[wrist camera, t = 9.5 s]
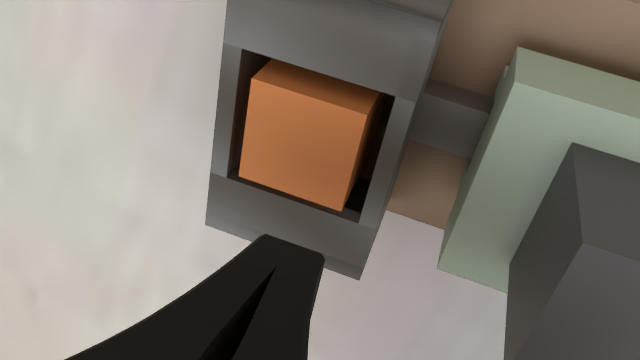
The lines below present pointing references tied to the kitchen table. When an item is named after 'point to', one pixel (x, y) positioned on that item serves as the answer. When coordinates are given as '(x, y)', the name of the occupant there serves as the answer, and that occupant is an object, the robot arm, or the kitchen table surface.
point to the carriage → (555, 211)
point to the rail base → (394, 100)
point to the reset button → (308, 132)
